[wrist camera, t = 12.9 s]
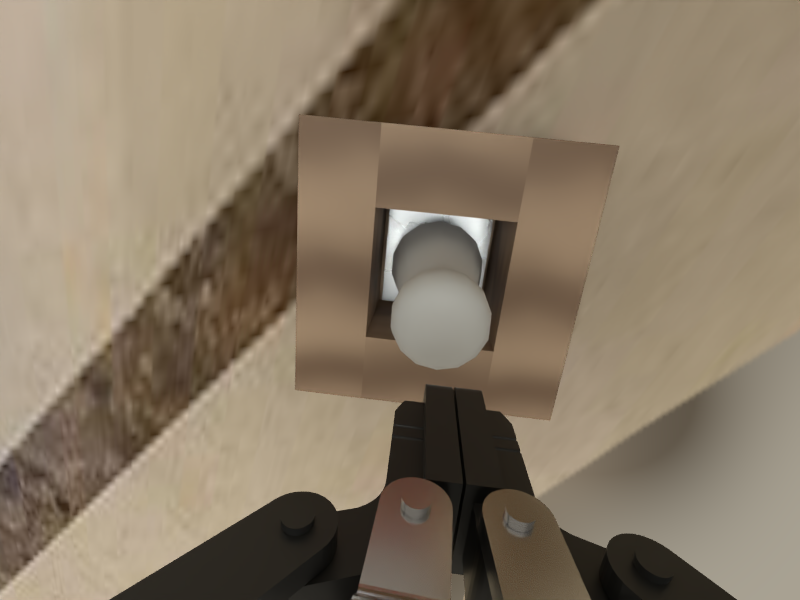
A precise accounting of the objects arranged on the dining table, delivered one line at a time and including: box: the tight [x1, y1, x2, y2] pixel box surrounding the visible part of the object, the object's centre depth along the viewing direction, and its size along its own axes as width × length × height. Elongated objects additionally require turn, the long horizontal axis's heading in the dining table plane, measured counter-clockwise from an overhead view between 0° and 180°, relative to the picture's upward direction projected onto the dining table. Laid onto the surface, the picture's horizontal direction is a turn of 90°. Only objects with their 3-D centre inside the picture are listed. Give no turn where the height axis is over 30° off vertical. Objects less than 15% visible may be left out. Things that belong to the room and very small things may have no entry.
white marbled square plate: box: [382, 209, 493, 301], centre depth 29 cm, size 7×7×1 cm
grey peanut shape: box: [391, 221, 492, 370], centre depth 23 cm, size 6×6×13 cm
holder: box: [295, 114, 619, 420], centre depth 27 cm, size 16×16×8 cm
